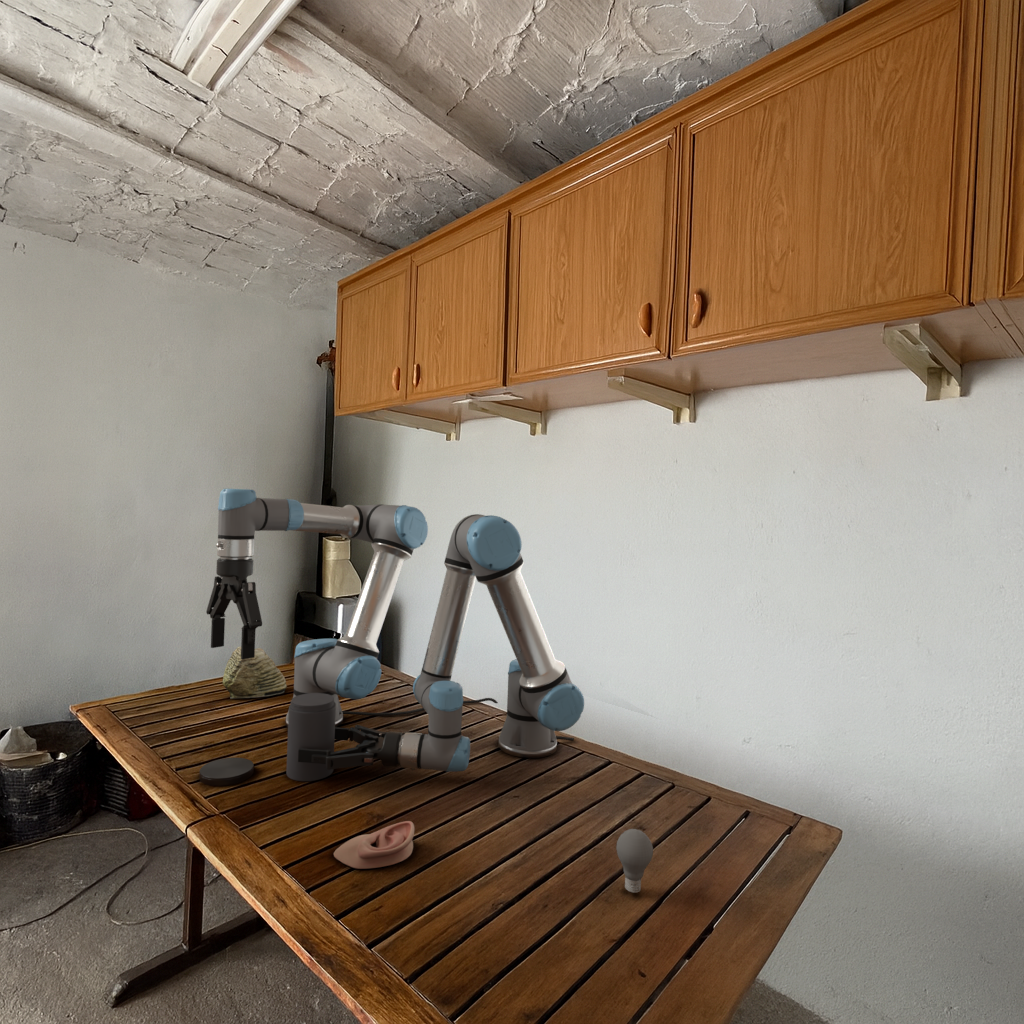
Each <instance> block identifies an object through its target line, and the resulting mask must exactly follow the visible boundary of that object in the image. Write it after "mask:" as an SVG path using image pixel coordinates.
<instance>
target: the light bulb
mask: <svg viewBox="0 0 1024 1024" xmlns="http://www.w3.org/2000/svg"><path fill="white" fill-rule="evenodd" d="M615 849H616V854H617V857H618V859H619V861H620V863H621V865H622V867H623V873H624V874H623V875H624V876H625V878H624V888H625V890H627V891H628V892H630V893H634V894H635V893H639V892H640V891H641V889H642V887H641V886H642V879H643V877H644V875H645V871H646V868H647V867H648V866H649V864H650V863H651V861H652V859H653V855H654V847H653V843H652V841H651V838H649V836H648V835H647V834H646V833H645V832H643V831H642V830H641V829H636V828H629V829H627V830H625V831H623V832H622V833H621V834H620V835H619V837H618V839H617V841H616V847H615Z"/></svg>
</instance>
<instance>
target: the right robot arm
mask: <svg viewBox="0 0 1024 1024" xmlns="http://www.w3.org/2000/svg"><path fill="white" fill-rule="evenodd" d="M451 532H452V533H451V535H450V537H449V542H448V546H447V550H446V554H445V557H444V563H443V564H444V567H445V568H446V572H445V576H444V580H443V583H442V587H441V588H442V589H441V591H440V596H439V599H438V603H437V607H436V611H435V616H434V618H433V623H432V627H431V632H430V636H429V640H428V644H427V648H426V652H425V654H424V655H425V656H424V659H423V663H422V667H421V671H420V673H419V675H418V676H417V677H416V678H415V679H414V681H413V683H412V692H413V695H414V697H415V700H416V702H417V703H418V704H420V705H421V708H424V709H425V710H424V711H425V712H426V714H427V715H428V725H427V726H428V728H427V733H422V732H404V733H403V732H402V731H391V730H389V731H381V730H377V729H373V728H371V727H367V726H364V725H360V724H355V725H354V726H352V727H338V726H337V727H335V741H348V742H350V743H351V742H353V741H354V742H355V743H357V744H356V745H355V746H354V747H349V748H345V749H340V750H334V752H331V751H330V750H329V749H328V750H316V749H302V748H300V749H299V750H298V762H306V763H319V764H326V769H327V770H330V769H333V770H336V769H337V770H338V769H347V768H354V767H371V766H373V765H374V760H380V761H381V766H383V767H386V768H398V767H401V768H403V769H411V770H412V771H415V770H416V769H417V770H430V771H440V772H441V771H442V772H446V773H448V772H454V773H455V772H456V773H459V772H464V771H466V770H467V769H468V767H469V763H470V756H471V739H470V738H469V736H464V735H463V733H462V722H463V705H464V704H463V701H464V692H463V691H464V690H463V686H462V684H460V682H456V681H454V680H452V675H453V672H454V668H455V664H456V658H457V655H458V652H459V648H460V644H461V640H462V636H463V631H464V627H465V623H466V619H467V616H468V612H469V607H470V603H471V600H472V596H473V592H474V588H475V585H476V582H477V583H480V584H482V585H485V586H486V589H487V590H488V593H489V595H490V598H491V600H492V602H493V606H494V608H495V610H496V612H497V615H498V617H499V620H500V623H501V624H502V627H503V630H504V632H505V634H506V637H507V639H508V642H509V644H510V647H511V649H512V652H513V654H514V656H515V659H513V660H511V661H510V663H509V664H508V665H509V666H508V672H507V698H506V699H507V703H506V717H505V721H504V723H503V725H502V728H501V730H500V734H499V737H498V748H499V749H500V751H502V752H504V753H505V754H507V755H511V756H513V757H517V758H526V759H539V758H544V757H548V756H551V755H553V754H554V753H556V751H557V749H558V740H561V741H562V740H563V741H570V742H574V741H575V738H574V737H571V736H570V737H569V736H563V735H556V732H563V731H565V730H569V729H570V728H572V727H573V726H574V725H575V724H577V722H578V721H579V720H580V718H581V717H582V716H581V715H582V713H583V712H584V708H585V698H584V694H583V692H582V691H581V690H580V688H579V687H578V685H575V684H574V683H573V682H572V680H571V678H570V675H569V672H568V670H567V668H566V665H565V663H564V662H563V661H560V660H559V659H556V657H555V655H554V651H553V650H552V647H551V645H550V642H549V639H548V636H547V635H546V632H545V629H544V626H543V625H542V621H541V620H540V617H539V614H538V612H537V610H536V606H535V604H534V602H533V599H532V597H531V594H530V591H529V590H528V587H527V584H526V582H525V579H524V577H523V574H522V569H523V566H524V564H525V562H524V559H523V555H522V553H521V551H522V547H523V546H522V545H523V544H522V538H521V535H520V533H519V530H518V529H517V528H516V526H515V525H514V524H513V523H512V522H510V521H509V520H507V519H505V518H503V517H501V516H498V515H485V514H480V513H479V514H478V513H475V514H474V513H473V514H470V515H467V516H465V517H463V518H462V519H460V520H459V521H458V522H457V523H456V525H455V527H454V528H453V530H452V531H451ZM332 760H333V761H332Z"/></svg>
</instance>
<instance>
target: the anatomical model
mask: <svg viewBox="0 0 1024 1024" xmlns="http://www.w3.org/2000/svg"><path fill="white" fill-rule="evenodd" d="M414 836H415V824H414V823H413V822H412V821H411V820H405V821H400V822H397V823H393V824H391V825H388V826H386V827H383V828H381V829H379V830H376V831H373V832H371V833H368V834H367V833H366V834H361V835H357V836H355V837H353V838H351V839H349V840H347V841H345V842H344V843H342V844H341V845H340V846H338V847H337V848H336V849H335V851H334V852H333V857H334V858H335V859H336V860H337V861H339V862H341V863H342V864H344V865H346V866H348V867H350V868H353V869H357V870H367V869H376V868H377V869H378V868H382V867H387V866H388V867H389V866H393V865H395V864H398V863H400V862H403V861H405V860H407V859H408V858H409V857H410V856H411V855H412V853H413V850H414V841H413V839H414Z"/></svg>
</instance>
